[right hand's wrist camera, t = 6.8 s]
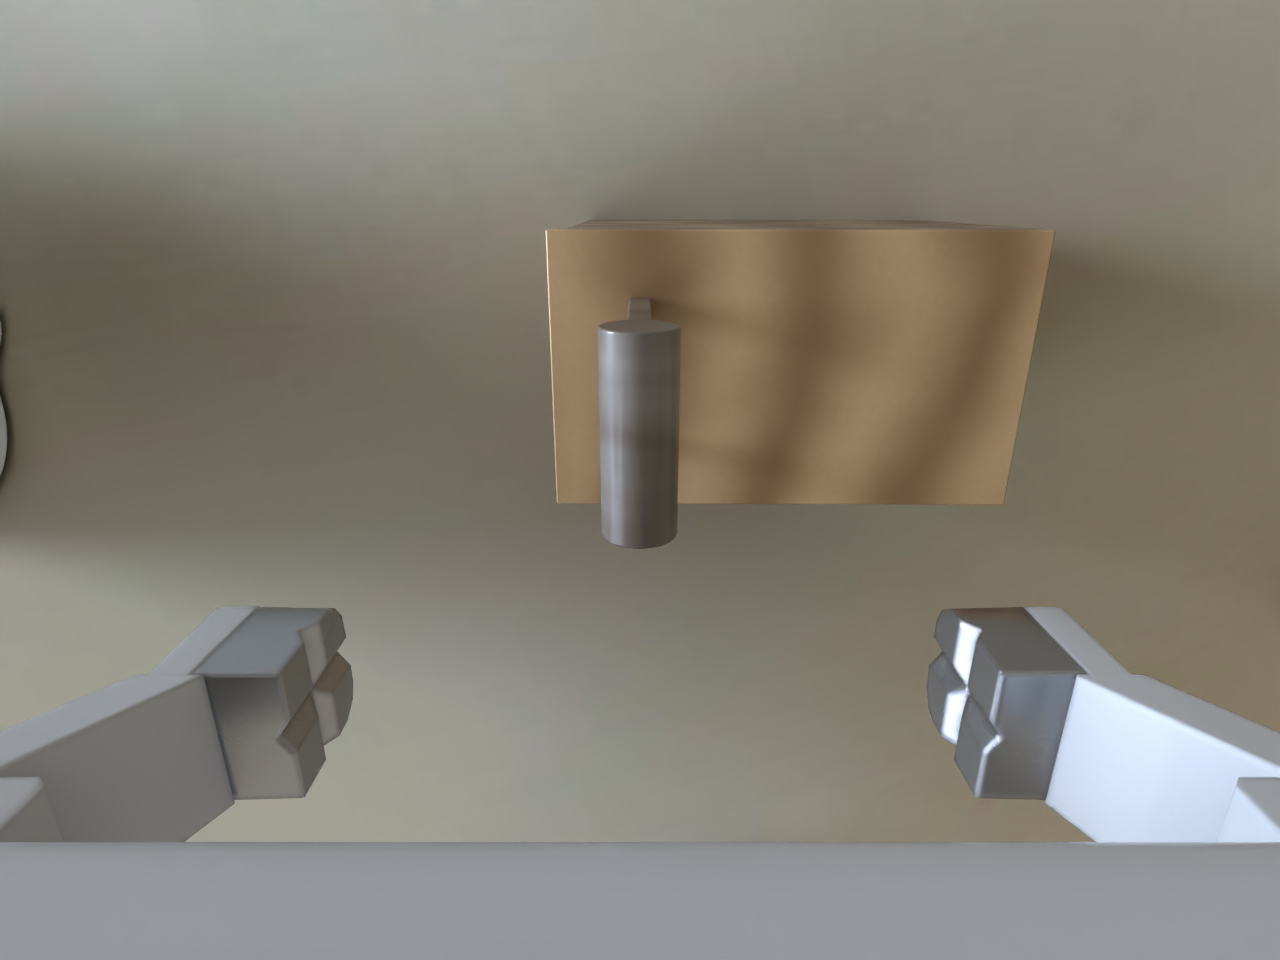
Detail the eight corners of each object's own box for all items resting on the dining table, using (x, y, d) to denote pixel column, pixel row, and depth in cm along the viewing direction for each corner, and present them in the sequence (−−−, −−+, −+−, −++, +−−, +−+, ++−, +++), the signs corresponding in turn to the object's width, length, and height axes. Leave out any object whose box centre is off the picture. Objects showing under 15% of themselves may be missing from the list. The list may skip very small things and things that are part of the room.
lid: (558, 495, 28) (525, 615, 20) (548, 228, 25) (502, 242, 17) (993, 496, 28) (1137, 617, 20) (1042, 229, 25) (1239, 244, 16)
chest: (591, 417, 38) (573, 494, 28) (587, 220, 35) (565, 228, 25) (900, 417, 38) (992, 495, 28) (926, 220, 35) (1041, 229, 25)
